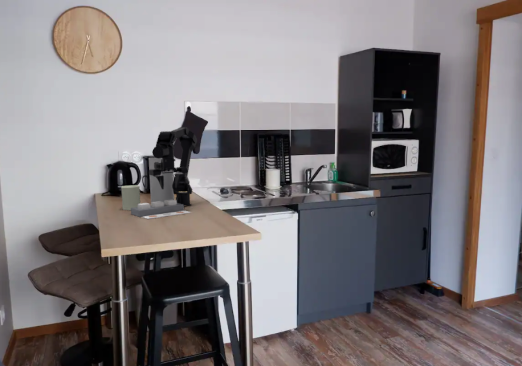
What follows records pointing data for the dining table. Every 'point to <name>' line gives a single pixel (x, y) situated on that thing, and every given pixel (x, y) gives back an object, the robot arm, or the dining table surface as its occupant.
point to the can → (130, 196)
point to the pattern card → (166, 214)
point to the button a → (143, 206)
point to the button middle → (157, 204)
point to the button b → (170, 202)
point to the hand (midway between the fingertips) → (169, 188)
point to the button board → (156, 210)
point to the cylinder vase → (155, 187)
